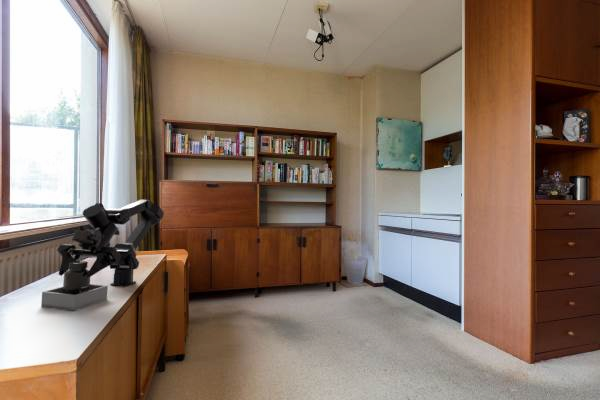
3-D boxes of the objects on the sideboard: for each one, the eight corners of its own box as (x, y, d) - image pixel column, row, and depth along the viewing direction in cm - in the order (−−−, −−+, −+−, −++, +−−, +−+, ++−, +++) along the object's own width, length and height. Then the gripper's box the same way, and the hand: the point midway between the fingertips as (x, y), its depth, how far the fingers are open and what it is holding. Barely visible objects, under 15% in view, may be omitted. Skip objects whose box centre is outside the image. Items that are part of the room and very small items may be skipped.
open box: (77, 295, 101) (77, 282, 101) (106, 299, 99) (107, 285, 99) (41, 306, 90) (42, 291, 90) (73, 311, 87) (74, 295, 87)
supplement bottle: (87, 302, 93) (89, 263, 93) (59, 304, 90) (62, 264, 90) (90, 296, 99) (92, 259, 99) (64, 298, 96) (66, 260, 96)
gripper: (63, 219, 99) (29, 258, 88) (117, 222, 98) (89, 262, 87) (80, 241, 107) (51, 279, 96) (130, 243, 106) (106, 282, 95)
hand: (73, 275), depth 93 cm, fingers open, 9 cm apart
